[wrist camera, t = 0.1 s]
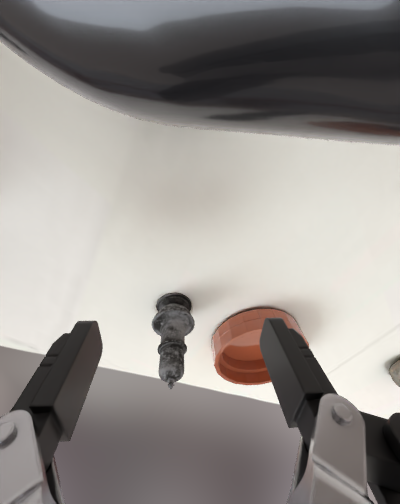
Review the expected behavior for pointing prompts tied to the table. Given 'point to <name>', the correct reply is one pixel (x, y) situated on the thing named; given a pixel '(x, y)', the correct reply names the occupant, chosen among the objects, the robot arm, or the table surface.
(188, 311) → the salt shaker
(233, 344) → the bowl
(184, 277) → the table surface
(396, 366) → the long grey stone
